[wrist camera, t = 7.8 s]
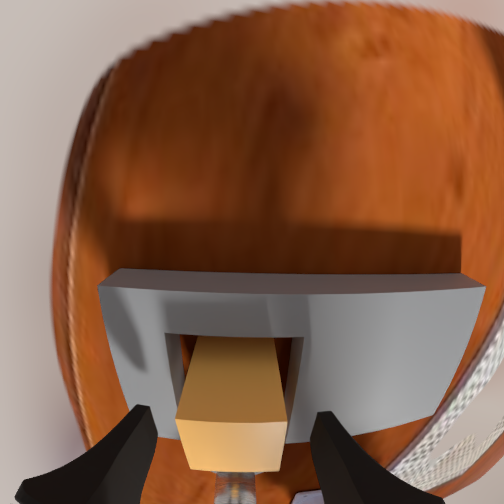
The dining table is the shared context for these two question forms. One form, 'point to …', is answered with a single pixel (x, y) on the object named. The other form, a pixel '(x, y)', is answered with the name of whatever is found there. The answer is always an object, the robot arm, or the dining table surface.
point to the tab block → (233, 406)
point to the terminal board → (298, 338)
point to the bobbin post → (235, 487)
